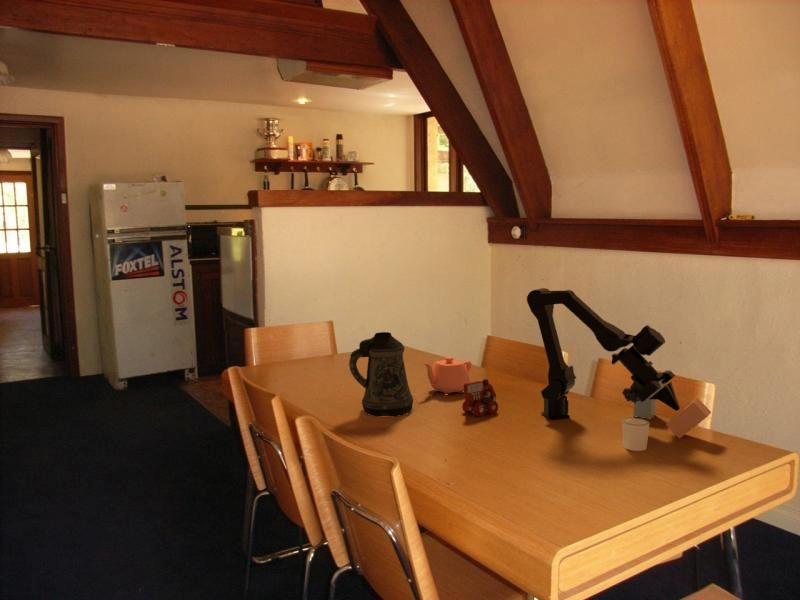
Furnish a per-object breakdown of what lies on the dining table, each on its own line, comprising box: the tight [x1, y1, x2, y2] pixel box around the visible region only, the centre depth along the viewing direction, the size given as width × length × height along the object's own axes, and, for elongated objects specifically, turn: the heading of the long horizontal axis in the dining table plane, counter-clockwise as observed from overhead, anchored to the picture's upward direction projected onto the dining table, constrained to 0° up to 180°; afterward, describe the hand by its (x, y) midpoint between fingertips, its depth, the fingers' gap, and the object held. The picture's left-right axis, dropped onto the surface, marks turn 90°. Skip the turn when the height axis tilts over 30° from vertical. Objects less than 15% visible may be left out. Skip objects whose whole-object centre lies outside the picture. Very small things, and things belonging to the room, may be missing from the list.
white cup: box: [621, 417, 650, 452], centre depth 178 cm, size 7×7×7 cm
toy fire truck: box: [461, 378, 499, 418], centre depth 212 cm, size 7×12×10 cm, turn 124°
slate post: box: [633, 395, 657, 419], centre depth 205 cm, size 5×5×10 cm
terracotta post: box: [665, 397, 712, 440], centre depth 185 cm, size 5×5×10 cm
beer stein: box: [348, 331, 414, 417], centre depth 216 cm, size 16×19×25 cm
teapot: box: [422, 356, 472, 395], centre depth 239 cm, size 13×20×12 cm, turn 118°
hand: (678, 409), depth 186 cm, fingers closed
